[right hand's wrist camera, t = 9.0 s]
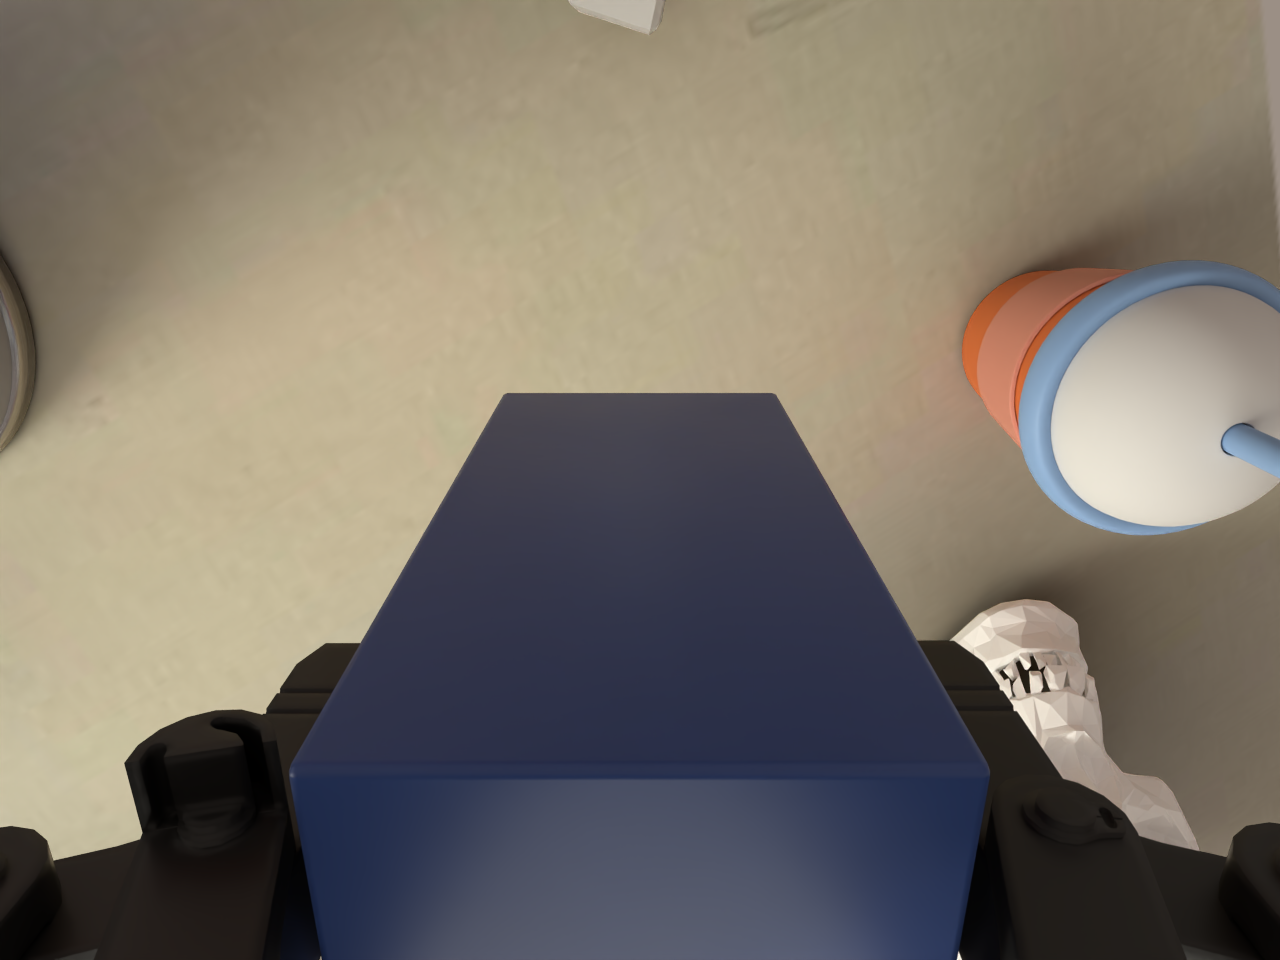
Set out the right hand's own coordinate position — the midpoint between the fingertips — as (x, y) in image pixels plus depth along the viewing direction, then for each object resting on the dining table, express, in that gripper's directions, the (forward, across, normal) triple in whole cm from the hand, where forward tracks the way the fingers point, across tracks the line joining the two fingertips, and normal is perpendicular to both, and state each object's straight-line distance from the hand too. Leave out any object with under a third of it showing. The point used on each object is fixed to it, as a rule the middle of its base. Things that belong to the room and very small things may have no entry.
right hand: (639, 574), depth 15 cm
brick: (+2, 0, 0) cm, 2 cm away
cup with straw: (+24, -17, +1) cm, 29 cm away
